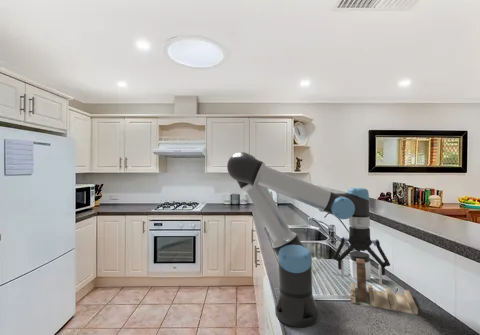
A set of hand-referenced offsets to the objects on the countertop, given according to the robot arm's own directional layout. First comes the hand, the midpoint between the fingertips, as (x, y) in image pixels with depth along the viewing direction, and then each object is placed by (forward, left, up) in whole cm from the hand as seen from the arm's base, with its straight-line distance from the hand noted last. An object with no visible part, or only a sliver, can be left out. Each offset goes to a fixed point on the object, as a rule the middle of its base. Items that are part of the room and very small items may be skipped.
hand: (361, 280), depth 99 cm
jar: (0, +20, -8) cm, 22 cm away
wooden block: (0, 0, -6) cm, 6 cm away
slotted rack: (+7, 0, -8) cm, 10 cm away
